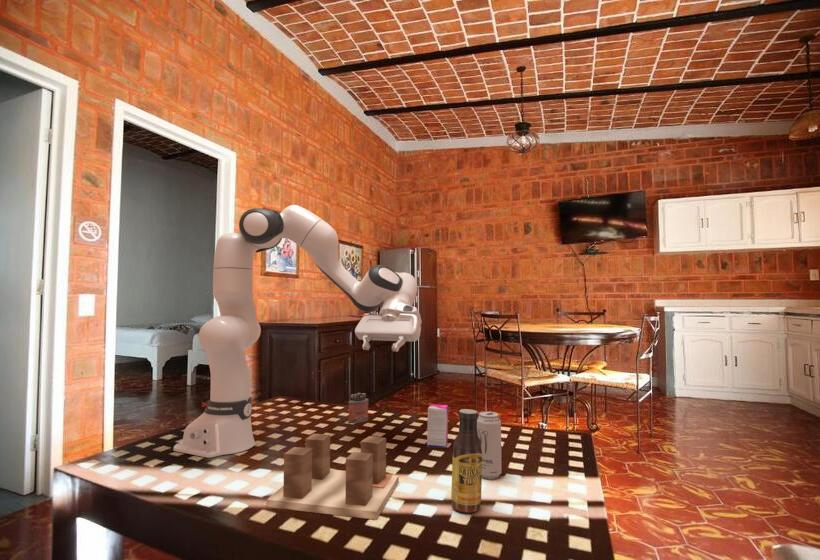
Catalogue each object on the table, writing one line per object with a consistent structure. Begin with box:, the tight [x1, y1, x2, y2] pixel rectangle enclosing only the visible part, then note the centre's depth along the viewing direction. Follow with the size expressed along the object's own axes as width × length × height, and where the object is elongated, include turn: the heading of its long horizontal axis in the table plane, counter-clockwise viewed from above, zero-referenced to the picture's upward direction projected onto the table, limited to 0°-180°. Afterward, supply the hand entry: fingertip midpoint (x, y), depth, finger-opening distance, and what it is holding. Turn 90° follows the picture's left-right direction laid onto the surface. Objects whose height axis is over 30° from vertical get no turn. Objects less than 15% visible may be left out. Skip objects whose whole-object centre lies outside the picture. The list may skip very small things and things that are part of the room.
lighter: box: [347, 392, 369, 424], centre depth 154 cm, size 8×3×10 cm, turn 130°
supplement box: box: [426, 403, 449, 449], centre depth 128 cm, size 6×6×12 cm
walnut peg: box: [360, 435, 387, 484], centre depth 99 cm, size 4×4×9 cm
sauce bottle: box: [450, 408, 483, 514], centre depth 89 cm, size 7×6×20 cm
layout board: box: [266, 433, 400, 520], centre depth 95 cm, size 24×18×10 cm
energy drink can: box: [477, 411, 503, 480], centre depth 106 cm, size 6×6×15 cm
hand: (379, 349), depth 122 cm, fingers open, 8 cm apart
